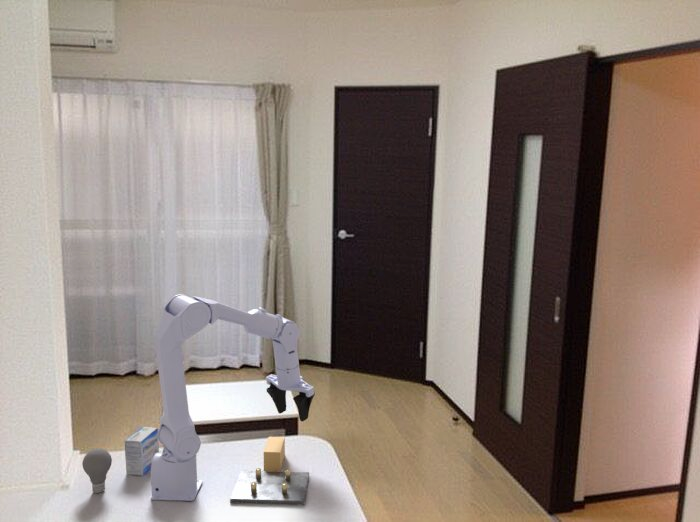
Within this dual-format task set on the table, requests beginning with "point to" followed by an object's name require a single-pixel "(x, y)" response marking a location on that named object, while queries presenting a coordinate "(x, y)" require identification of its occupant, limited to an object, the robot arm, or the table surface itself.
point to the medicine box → (141, 450)
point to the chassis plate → (270, 487)
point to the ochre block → (274, 453)
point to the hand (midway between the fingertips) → (293, 415)
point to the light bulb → (97, 467)
